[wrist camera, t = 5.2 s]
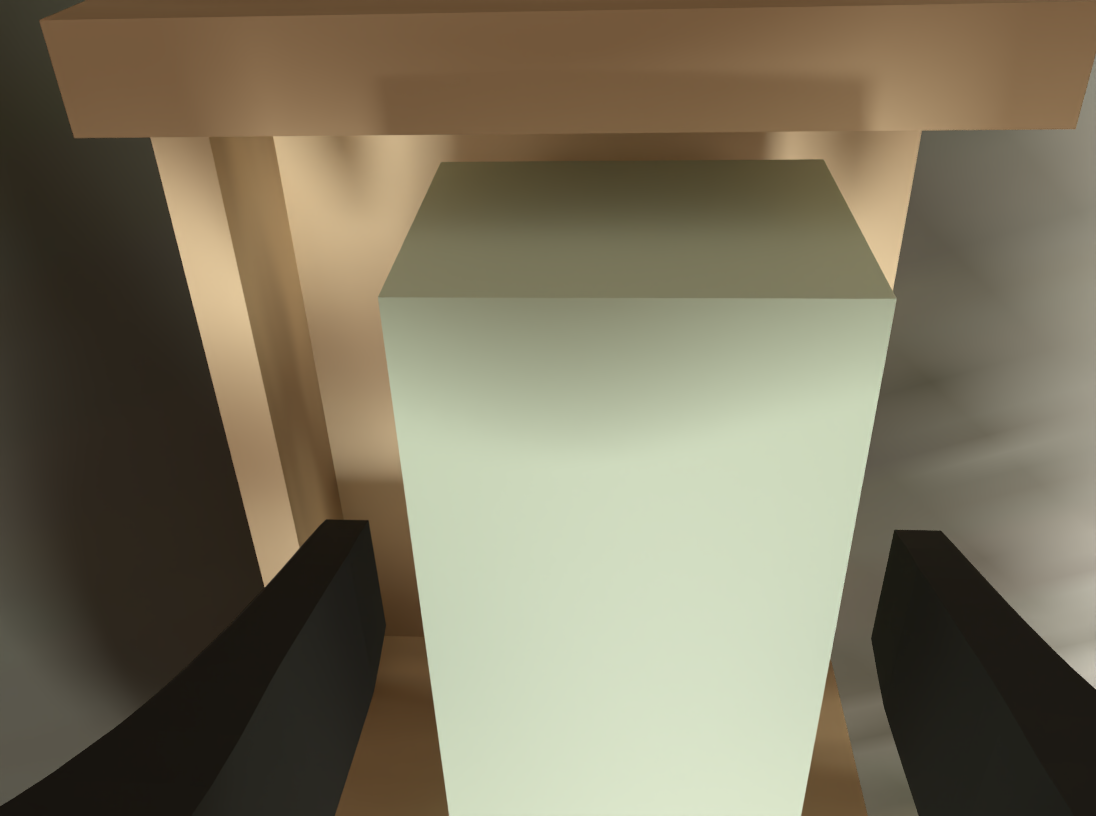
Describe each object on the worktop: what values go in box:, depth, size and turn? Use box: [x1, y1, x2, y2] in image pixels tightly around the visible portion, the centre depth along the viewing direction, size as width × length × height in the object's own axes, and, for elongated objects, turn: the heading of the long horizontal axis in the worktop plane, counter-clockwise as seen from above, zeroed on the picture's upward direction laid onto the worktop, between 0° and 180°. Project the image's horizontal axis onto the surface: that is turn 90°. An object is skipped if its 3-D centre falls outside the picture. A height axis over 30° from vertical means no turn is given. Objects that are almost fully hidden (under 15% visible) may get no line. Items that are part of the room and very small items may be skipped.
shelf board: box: [378, 159, 896, 816], centre depth 14 cm, size 10×5×4 cm, turn 2°
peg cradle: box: [39, 0, 1096, 816], centre depth 16 cm, size 15×11×6 cm
